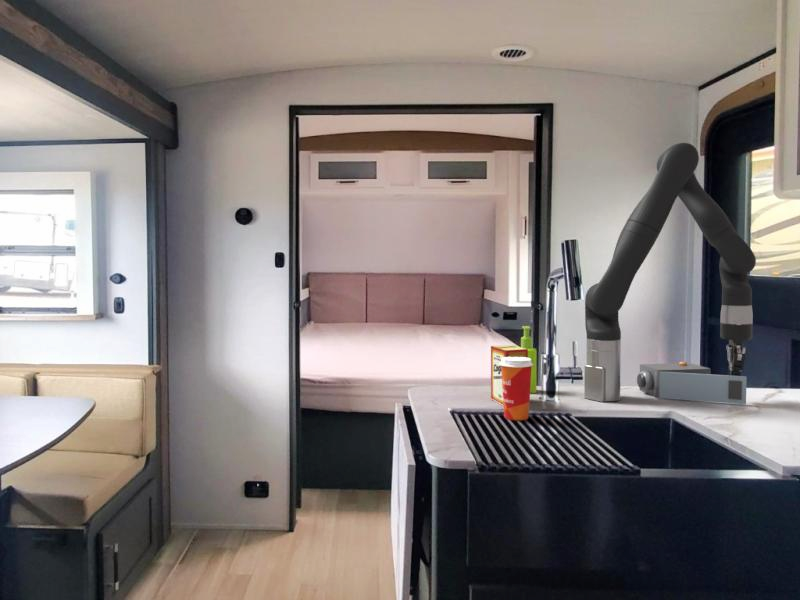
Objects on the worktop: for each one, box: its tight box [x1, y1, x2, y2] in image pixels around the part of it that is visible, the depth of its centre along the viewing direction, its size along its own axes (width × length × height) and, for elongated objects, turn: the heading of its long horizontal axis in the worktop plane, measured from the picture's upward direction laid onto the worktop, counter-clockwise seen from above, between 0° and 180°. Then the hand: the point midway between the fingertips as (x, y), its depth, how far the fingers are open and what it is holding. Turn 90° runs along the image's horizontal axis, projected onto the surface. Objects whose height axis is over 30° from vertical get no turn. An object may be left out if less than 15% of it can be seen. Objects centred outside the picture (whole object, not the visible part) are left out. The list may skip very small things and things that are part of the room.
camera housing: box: [636, 361, 712, 397], centre depth 163 cm, size 10×18×9 cm, turn 95°
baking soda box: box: [490, 344, 528, 404], centre depth 153 cm, size 10×6×16 cm
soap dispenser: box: [520, 325, 538, 394], centre depth 168 cm, size 6×7×20 cm
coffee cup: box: [500, 357, 533, 421], centre depth 138 cm, size 8×8×15 cm
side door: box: [654, 371, 747, 405], centre depth 152 cm, size 2×22×7 cm, turn 66°
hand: (735, 384), depth 151 cm, fingers closed
